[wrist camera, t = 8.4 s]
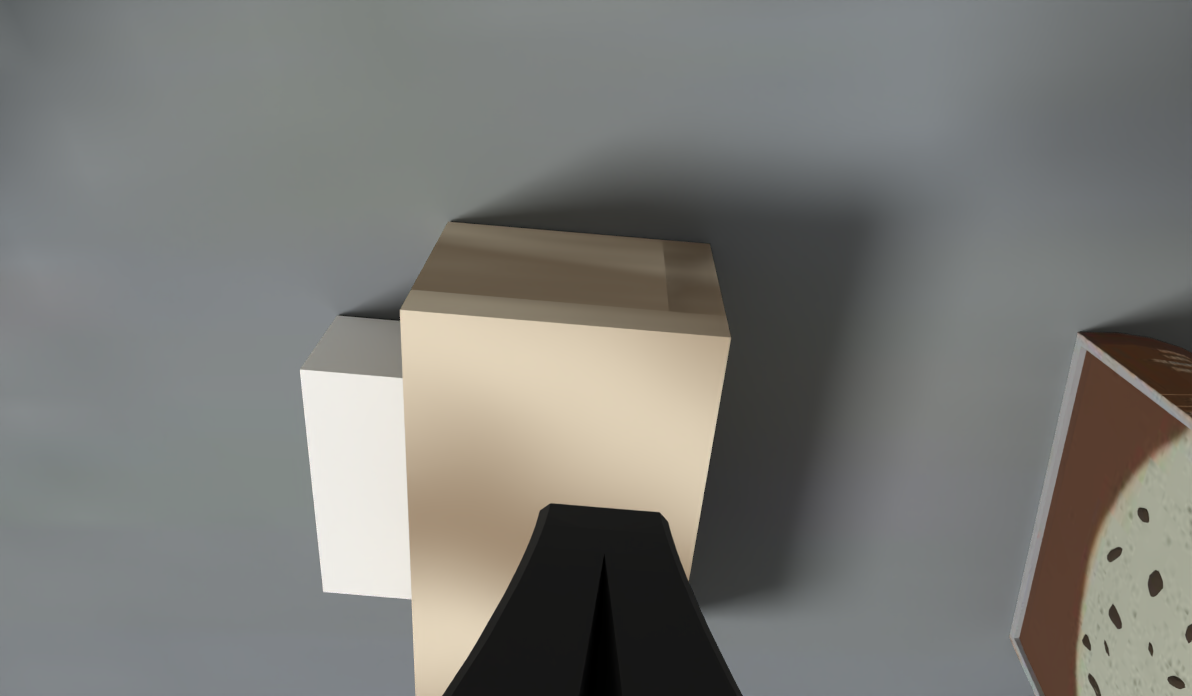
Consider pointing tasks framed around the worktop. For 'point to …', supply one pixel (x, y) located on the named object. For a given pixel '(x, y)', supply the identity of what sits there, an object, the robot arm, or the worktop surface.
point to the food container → (1114, 529)
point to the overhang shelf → (547, 406)
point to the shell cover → (359, 457)
